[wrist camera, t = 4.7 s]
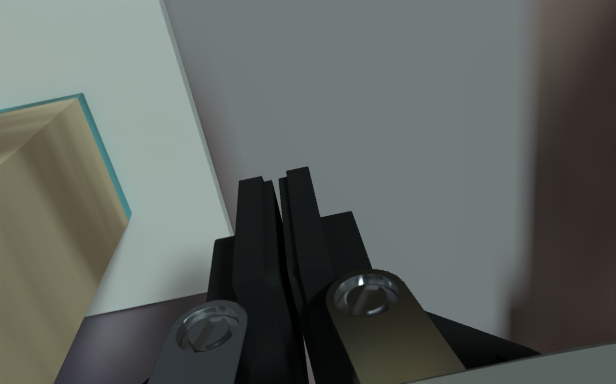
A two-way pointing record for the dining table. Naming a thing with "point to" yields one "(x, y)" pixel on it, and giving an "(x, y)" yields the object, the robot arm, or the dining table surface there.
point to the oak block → (52, 231)
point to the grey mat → (126, 133)
